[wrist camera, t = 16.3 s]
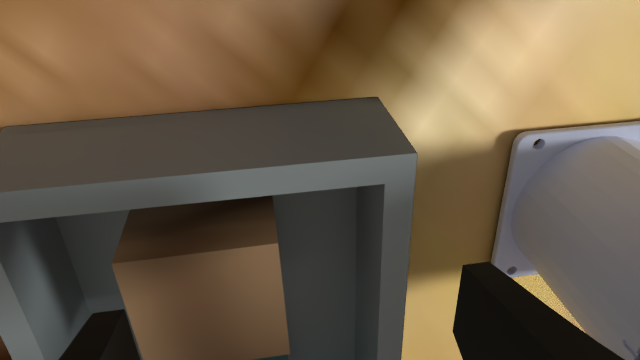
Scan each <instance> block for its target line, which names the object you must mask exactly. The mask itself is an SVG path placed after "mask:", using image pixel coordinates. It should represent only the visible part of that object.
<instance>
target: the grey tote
mask: <svg viewBox="0 0 640 360" xmlns="http://www.w3.org/2000/svg"><path fill="white" fill-rule="evenodd" d="M416 164H417V152H416V150H415V149H414V148H413V146H412V145H411V143H410V142H409V141H408V139H407V138H406V136H405V135H404V133H403V132H402V131H401V129H400V128H399V126H398V125H397V123H396V122H395V121H394V119H393V118H392V116H391V115H390V114H389V112H388V111H387V109H386V108H385V106H384V105H383V104H382V102H381V101H380V99H379V98H378V97H371V98H359V99H346V100H334V101H321V102H309V103H296V104H284V105H272V106H259V107H247V108H234V109H222V110H209V111H197V112H185V113H172V114H160V115H147V116H135V117H122V118H110V119H98V120H85V121H73V122H60V123H48V124H36V125H23V126H11V127H4V128H3V129H2V130H1V131H0V336H1V338H2V340H3V342H4V344H5V346H6V348H7V350H8V352H9V354H10V356H11V358H12V360H59V358H60V357H61V356H62V354H63V353H64V351H65V350H66V349H67V347H68V346H69V345H70V343H71V342H72V340H73V339H74V338H75V336H76V335H77V334H78V332H79V331H80V329H81V328H82V327H83V325H84V324H85V323H86V321H87V320H88V318H89V317H90V316H91V315H92V314H93V313H98V312H105V311H113V310H121V309H125V312H126V316H127V319H128V322H129V325H130V328H131V332H132V335H133V338H134V341H135V344H136V348H137V351H138V354H139V357H140V360H143V358H142V355H141V352H140V349H139V346H138V343H137V340H136V337H135V334H134V331H133V328H132V325H131V322H130V319H129V316H128V313H127V310H126V307H125V304H124V301H123V298H122V295H121V292H120V289H119V286H118V283H117V280H116V277H115V274H114V271H113V268H112V265H111V263H112V260H113V258H114V255H115V252H116V249H117V246H118V243H119V240H120V237H121V234H122V231H123V228H124V225H125V222H126V220H127V217H128V214H129V211H130V210H131V209H141V208H151V207H161V206H171V205H181V204H191V203H201V202H211V201H221V200H231V199H240V198H250V197H260V196H270V195H272V196H273V204H274V213H275V221H276V229H277V238H278V246H279V256H280V265H281V274H282V283H283V292H284V301H285V311H286V320H287V329H288V338H289V347H290V354H288V360H401V354H402V341H403V329H404V316H405V303H406V291H407V278H408V265H409V253H410V240H411V227H412V215H413V202H414V189H415V177H416Z"/></svg>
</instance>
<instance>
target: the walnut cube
mask: <svg viewBox="0 0 640 360" xmlns="http://www.w3.org/2000/svg"><path fill="white" fill-rule="evenodd" d="M111 265H112V268H113V271H114V274H115V277H116V280H117V283H118V286H119V289H120V292H121V295H122V298H123V301H124V304H125V307H126V310H127V313H128V316H129V319H130V322H131V325H132V328H133V331H134V334H135V337H136V340H137V343H138V346H139V349H140V352H141V355H142V358H143V360H253V359H260V358H267V357H273V356H280V355H287V354H290V347H289V338H288V329H287V320H286V311H285V301H284V292H283V283H282V274H281V265H280V256H279V246H278V238H277V229H276V221H275V213H274V204H273V196H272V195H270V196H260V197H250V198H240V199H231V200H221V201H211V202H201V203H191V204H181V205H171V206H161V207H151V208H141V209H131V210H130V211H129V214H128V217H127V220H126V222H125V225H124V228H123V231H122V234H121V237H120V240H119V243H118V246H117V249H116V252H115V255H114V258H113V260H112V263H111Z"/></svg>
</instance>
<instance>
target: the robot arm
mask: <svg viewBox="0 0 640 360" xmlns="http://www.w3.org/2000/svg"><path fill="white" fill-rule="evenodd" d="M538 139H540V141H539V143H538V144H537V145H535V146H533V144H534V142H535V141H536V140H538ZM510 267H511V268H510ZM509 268H510V269H509ZM535 274H539V275H540V276H541V277H542V278H543V280H544V281H545V282H546V283H547V285H548V286H549V287H550V288H551V290H552V291H553V292H554V293H555V295H556V296H557V297H558V298H559V300H560V301H561V302H562V303H563V305H564V306H565V307H566V308H567V309H568V311H569V312H570V313H571V314H572V316H573V317H574V318H575V319H576V321H577V322H578V323H579V324H580V326H581V327H582V328H583V329H584V331H585V332H586V333H587V334H588V335H587V334H586V333H584V332H583V331H582V330H580V329H579V328H577V327H576V326H575V325H573V324H572V323H570V322H569V321H568V320H566V319H565V318H563V317H562V316H561V315H559V314H558V313H557V312H555V311H554V310H553V309H551V308H550V307H549V306H547V305H546V304H545V303H543V302H542V301H541V300H539V299H538V298H537V297H535V296H534V295H533V294H531V293H530V292H529V291H527V290H526V289H525V288H523V287H522V286H521V285H519V284H518V283H517V282H516V281H514V280H513V279H512V278H511V277H519V276H527V275H535ZM453 333H454V336H455V339H456V342H457V344H458V347H459V350H460V353H461V355H462V358H463V360H640V121H634V122H623V123H612V124H601V125H590V126H580V127H569V128H558V129H547V130H536V131H526V132H522V133H520V134H519V135H517V137H516V138H515V139H514V142H513V146H512V151H511V157H510V162H509V168H508V173H507V178H506V184H505V189H504V194H503V200H502V205H501V211H500V216H499V221H498V227H497V232H496V237H495V243H494V248H493V254H492V259H491V263H490V262H484V263H476V264H468V265H463V267H462V274H461V280H460V287H459V294H458V300H457V307H456V313H455V320H454V326H453ZM59 360H140V357H139V354H138V351H137V348H136V344H135V341H134V338H133V335H132V332H131V328H130V325H129V322H128V319H127V316H126V312H125V309H121V310H113V311H105V312H98V313H93V314H92V315H91V316H90V317H89V318H88V320H87V321H86V323H85V324H84V325H83V327H82V328H81V329H80V331H79V332H78V334H77V335H76V336H75V338H74V339H73V340H72V342H71V343H70V345H69V346H68V347H67V349H66V350H65V351H64V353H63V354H62V356H61V357H60V358H59Z"/></svg>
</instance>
